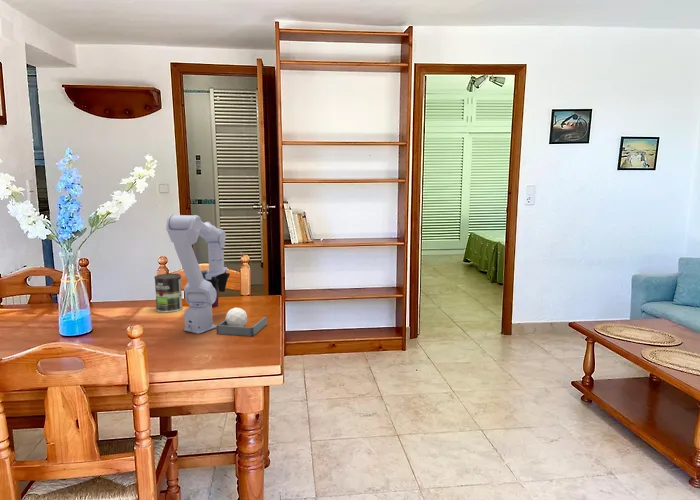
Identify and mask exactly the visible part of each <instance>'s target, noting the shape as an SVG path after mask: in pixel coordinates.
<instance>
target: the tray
mask: <svg viewBox="0 0 700 500" xmlns="http://www.w3.org/2000/svg"><path fill="white" fill-rule="evenodd" d="M267 321H268V320H267V316H264V317H262V318H261V319H260V320H259V321H258V322H256V323H255V324H254V325H253V326H244V327H242V326H228V325H227V323H226V320H225V319H224V320H222V321H221V322H220V323H218V324H216V325H217V326H216V328H215V329H216V335H228V336H245V337H254V336H256V335H257V333H259V332H260V331H261V330H262V329H263V328H265V327H266V326H267V325H268V322H267Z"/></svg>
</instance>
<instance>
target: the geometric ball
mask: <svg viewBox="0 0 700 500" xmlns="http://www.w3.org/2000/svg"><path fill="white" fill-rule="evenodd" d="M224 320H226V323H227V325H228V326H242V327H245V326H246V324H247V322H248V315H247V312H246V310H244V309H243V308H241V307H234V308H231V309H229V310H228V312H227V313H225V319H224Z"/></svg>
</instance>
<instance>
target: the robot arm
mask: <svg viewBox="0 0 700 500" xmlns="http://www.w3.org/2000/svg"><path fill="white" fill-rule="evenodd" d="M165 227H166V228H165V229H166V231H167V234H168V237H169V239H170V242H172V243H173V246H174V249H175V252H176V254H177V256H178V259H179V263H180V265H181V267H182V269H183V272H184V275H185V277H186V280H187V283H186V284H185V286H184V289H183V291H184V298H185V299H184V300H185V301H186V303H187V304H188V306H190V307H188V308H186V309H185V311H184V312H183V313H184V317H183V318H184V328H183V331H186V332H188V333H192V334H193V333H194V334H197V335H198V334H202V333H204V332H207V331H210V330H213V329H217V328H216V326H217V325H218V324H213V307H212V304H213V303H214V302H215V300H216V296H217V284H218V288H219V292H221V293H224V292H225V291H226V286H227V284H228V283H227V282H228V279H229V277H230V276H231V275H230V272H228V267H227V266H226V267H225V255H224V253H225V252H224V250H225V249H224V248H225V246H226V238H227V235H226V232H225V230H223V229H222V228H217V227H216V225H213V224H212V223H211V222H210V221H205V222H203V221H202V219H201V216H199V215H198V214H194V215H189V214H187V215H185V214H184V215H183V214H170V215H168V217H167V220H166V226H165ZM199 237H201V238H203V239H204V242H205V243H206V244H207V249H208V250H207V254H208V256H207V257H208V269H206V270H207V271H206V272H207V274H205V276H206V278H203V274H202V271H201V267H200V265H199V262H198V259H197V257H196V254H195V251H194V248H193V246H192V245H194V244H196V243H197V242H198V238H199ZM214 277H216V279H215V278H214ZM219 292H218V293H219Z"/></svg>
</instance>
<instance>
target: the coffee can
mask: <svg viewBox="0 0 700 500" xmlns="http://www.w3.org/2000/svg"><path fill="white" fill-rule="evenodd" d="M154 284H155V285H154V287H155V289H154V290H155V301H156V302H155V305H156V310H155V311H156V312H157V313H164V314H165V313H166V312H167V313H175V312H179V311H181V310H183V297H182V296H183V294H182V275H181V274H180V273H179V274H178V273H163V274H161V273H160V274H157V275H155V276H154Z"/></svg>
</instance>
